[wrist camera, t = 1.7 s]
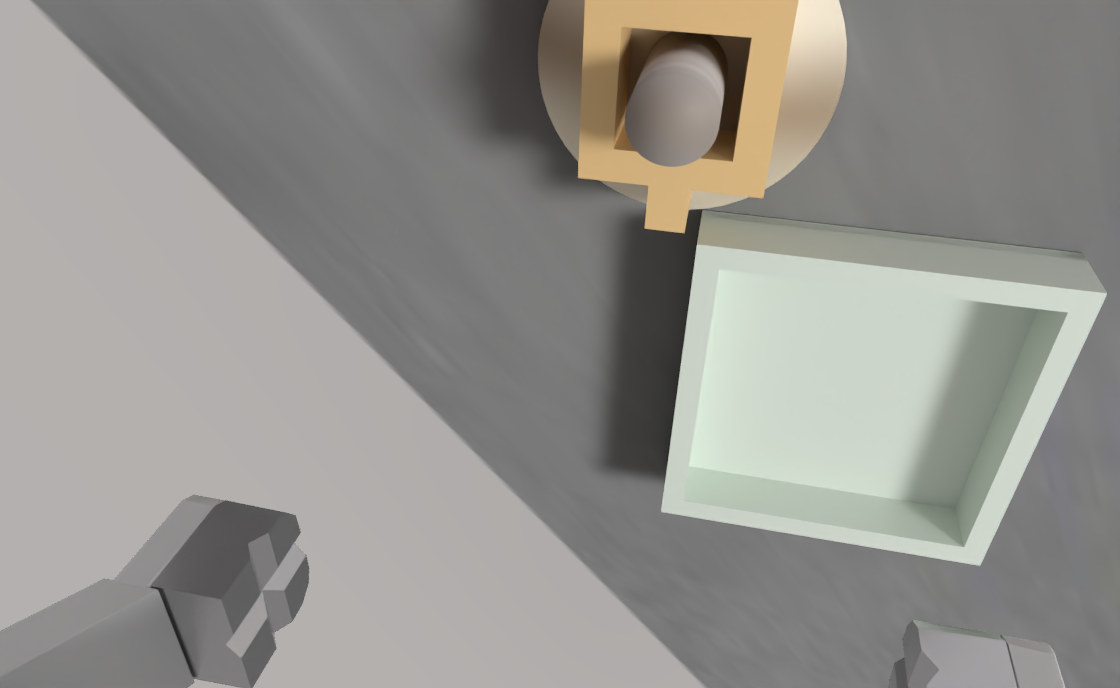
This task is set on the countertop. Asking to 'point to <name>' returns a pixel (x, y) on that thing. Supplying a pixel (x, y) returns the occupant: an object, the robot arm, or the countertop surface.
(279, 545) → the robot arm
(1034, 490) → the countertop surface
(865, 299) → the tray
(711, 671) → the countertop surface
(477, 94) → the countertop surface
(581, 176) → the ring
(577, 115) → the stand
